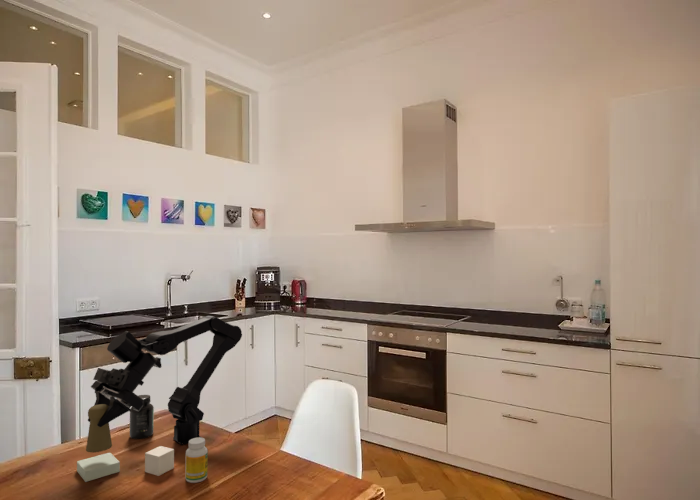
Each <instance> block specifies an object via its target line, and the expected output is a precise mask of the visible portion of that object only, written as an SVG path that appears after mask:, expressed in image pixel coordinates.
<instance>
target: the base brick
mask: <svg viewBox="0 0 700 500" xmlns="http://www.w3.org/2000/svg"><path fill="white" fill-rule="evenodd" d="M120 463H121V462H120V460H118V459H117V458H116V457H115V456H114V454H112V453H111V452H107V453H106V452H105V453H102V454H99V455H96V456H92V457H88V458H84V459H80V460H77V461H76V471H77V473H78V474H79V476H80V477H81V478H82V479H83V481H84V482H85V483H87V482H89V481H93V480H96V479H99V478H103V477H106V476H109V475H113V474H116V473H120V472H121V469H120V467H121V464H120Z"/></svg>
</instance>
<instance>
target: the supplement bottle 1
mask: <svg viewBox="0 0 700 500" xmlns="http://www.w3.org/2000/svg"><path fill="white" fill-rule="evenodd" d="M138 396H139V397H140V398H141V399H142V400H144V405H143V407H142V408H141V409H140V411H136V410H134V409H133V408H132V406H131V407H130V409H131V411H129V437H130V438H131V439H133V440H143V439H146V438H150V437H151V436H152V435H153V434H154V419H155V418H154V417H155V414H154V411H155V410H154V409H155V407H154V405H153V404H152V403H151V401H152V400H151V395H149V394H139V395H138Z"/></svg>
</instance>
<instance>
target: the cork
mask: <svg viewBox="0 0 700 500" xmlns="http://www.w3.org/2000/svg"><path fill="white" fill-rule="evenodd" d="M108 407H109V406H108V405H106V404H99V405H95V406H94V405H93V406H91V407H90V408H89V409H88V410H87V417H88V418H89V419H90V422H89V427H88V434H87V441H86V445H85V446H86V448H85V451H86V452H88V453H91V454H93V453H101V452H104V451H108V450H109V449H110V448H112V446H113V443H112V435H111V430H110V422H109V423H107V424H105V425H104V426H102V427H99V426H97V424H98V422H99V421H100V419H101V417H102V416H103V414H104V413H105V411H106V410H107V409H108Z"/></svg>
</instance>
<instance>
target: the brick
mask: <svg viewBox="0 0 700 500" xmlns="http://www.w3.org/2000/svg"><path fill="white" fill-rule="evenodd" d="M173 469H175V449H174V448H171V447H166V446H162V445H159V446H157V447H155V448H152V449H151V450H148V451H147V452H144V472H145V473H148V474H151V475H155V476H157V477H159V476H161V475H163V474H164V473H167V472H169V471H171V470H173Z"/></svg>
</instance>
